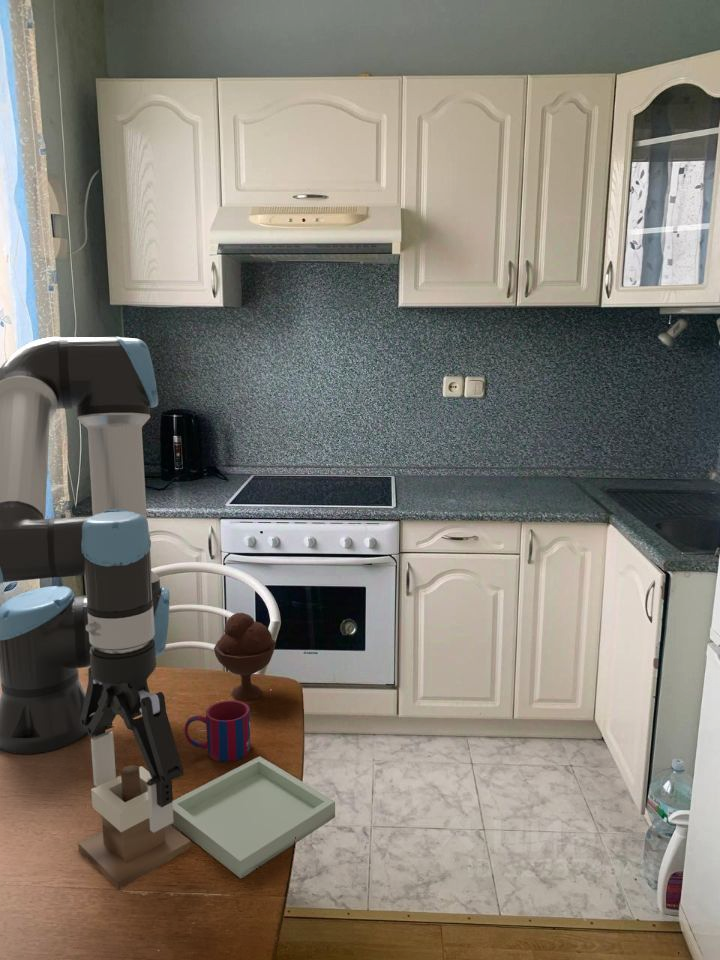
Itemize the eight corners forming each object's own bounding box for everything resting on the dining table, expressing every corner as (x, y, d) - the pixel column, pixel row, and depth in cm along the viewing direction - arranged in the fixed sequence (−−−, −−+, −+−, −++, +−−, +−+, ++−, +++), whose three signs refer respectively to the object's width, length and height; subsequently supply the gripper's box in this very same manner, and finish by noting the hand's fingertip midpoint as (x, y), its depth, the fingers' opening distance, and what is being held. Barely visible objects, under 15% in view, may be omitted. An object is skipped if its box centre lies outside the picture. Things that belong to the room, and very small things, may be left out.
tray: (167, 820, 100) (166, 804, 99) (259, 770, 111) (259, 756, 111) (240, 878, 89) (240, 861, 89) (335, 817, 101) (335, 801, 100)
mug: (250, 760, 114) (248, 720, 113) (183, 765, 113) (181, 723, 111) (251, 737, 120) (250, 699, 119) (188, 741, 119) (186, 702, 118)
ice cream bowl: (210, 707, 130) (207, 627, 127) (224, 679, 141) (221, 604, 138) (270, 709, 130) (268, 628, 127) (279, 680, 141) (278, 605, 138)
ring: (92, 807, 93) (91, 789, 92) (142, 783, 98) (141, 766, 97) (121, 832, 88) (119, 813, 88) (171, 805, 93) (171, 787, 93)
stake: (78, 849, 94) (72, 771, 92) (148, 813, 101) (144, 740, 99) (118, 889, 87) (113, 805, 85) (190, 847, 94) (187, 769, 92)
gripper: (45, 624, 95) (57, 776, 98) (150, 683, 78) (160, 864, 81) (100, 609, 100) (109, 754, 104) (209, 661, 83) (216, 832, 87)
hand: (132, 802), depth 93 cm, fingers open, 13 cm apart
